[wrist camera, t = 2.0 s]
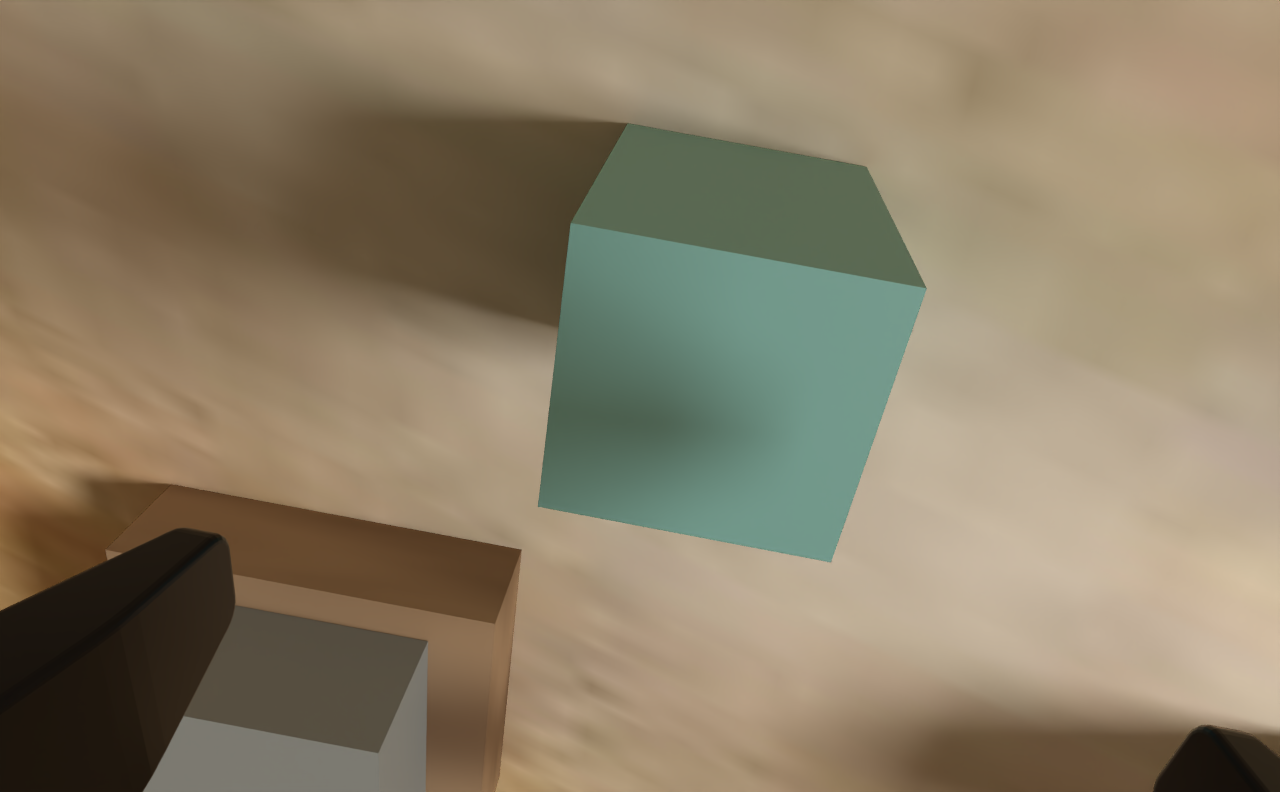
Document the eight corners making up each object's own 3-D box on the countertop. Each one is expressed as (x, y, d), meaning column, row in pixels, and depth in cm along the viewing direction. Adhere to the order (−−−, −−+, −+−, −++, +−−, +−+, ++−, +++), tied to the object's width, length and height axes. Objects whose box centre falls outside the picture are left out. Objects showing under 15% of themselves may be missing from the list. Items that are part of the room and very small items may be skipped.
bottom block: (503, 762, 26) (476, 857, 23) (219, 707, 26) (160, 794, 24) (525, 538, 22) (495, 624, 19) (181, 473, 22) (105, 549, 19)
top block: (424, 824, 23) (383, 939, 20) (174, 775, 23) (102, 884, 21) (427, 641, 19) (378, 753, 17) (132, 586, 20) (38, 688, 17)
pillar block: (805, 376, 18) (830, 562, 13) (597, 337, 18) (537, 506, 13) (866, 166, 16) (926, 287, 10) (628, 123, 16) (570, 222, 11)
